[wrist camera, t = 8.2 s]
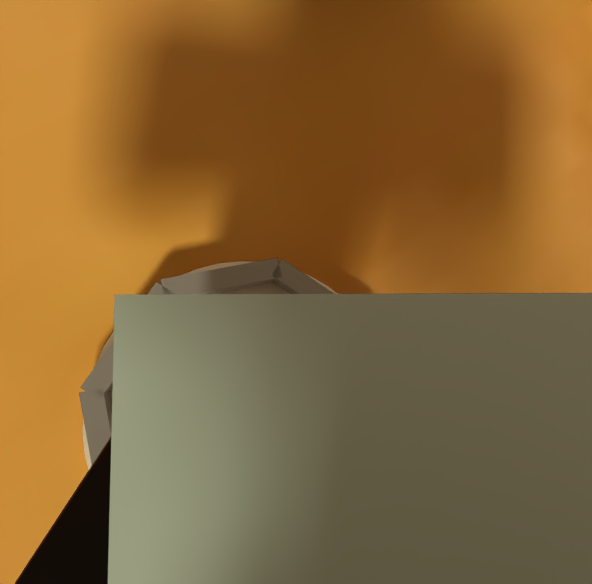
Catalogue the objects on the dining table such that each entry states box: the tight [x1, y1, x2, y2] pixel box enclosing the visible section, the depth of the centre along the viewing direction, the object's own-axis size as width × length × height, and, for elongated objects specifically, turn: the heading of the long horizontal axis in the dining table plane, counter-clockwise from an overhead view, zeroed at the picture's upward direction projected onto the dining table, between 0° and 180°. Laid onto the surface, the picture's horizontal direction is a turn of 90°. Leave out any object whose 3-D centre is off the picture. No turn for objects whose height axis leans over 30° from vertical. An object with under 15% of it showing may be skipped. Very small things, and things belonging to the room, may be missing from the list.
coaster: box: [79, 258, 338, 470], centre depth 19 cm, size 12×12×2 cm
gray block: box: [108, 293, 592, 584], centre depth 9 cm, size 5×5×12 cm
